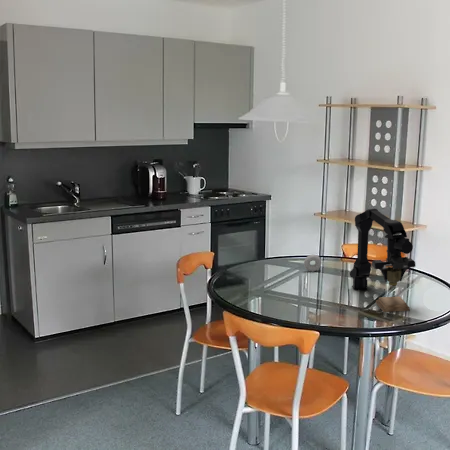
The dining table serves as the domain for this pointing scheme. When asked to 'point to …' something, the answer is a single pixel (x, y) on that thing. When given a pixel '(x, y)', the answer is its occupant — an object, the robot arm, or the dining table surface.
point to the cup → (393, 275)
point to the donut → (309, 259)
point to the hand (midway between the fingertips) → (393, 281)
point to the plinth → (392, 304)
